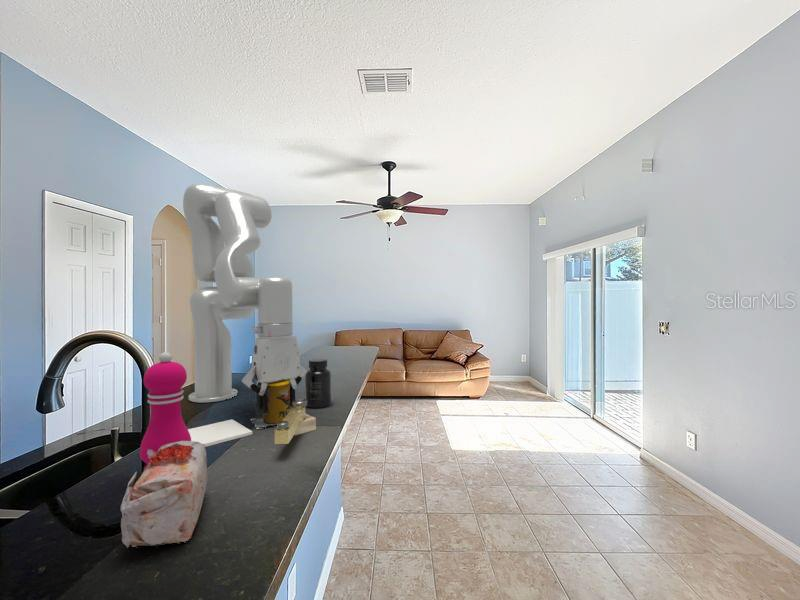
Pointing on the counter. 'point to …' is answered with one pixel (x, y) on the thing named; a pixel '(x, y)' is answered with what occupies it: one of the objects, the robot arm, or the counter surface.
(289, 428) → the lever
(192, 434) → the plate
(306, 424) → the block
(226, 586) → the counter surface
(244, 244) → the robot arm
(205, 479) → the food item
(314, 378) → the supplement bottle
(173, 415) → the pepper mill
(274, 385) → the condiment
